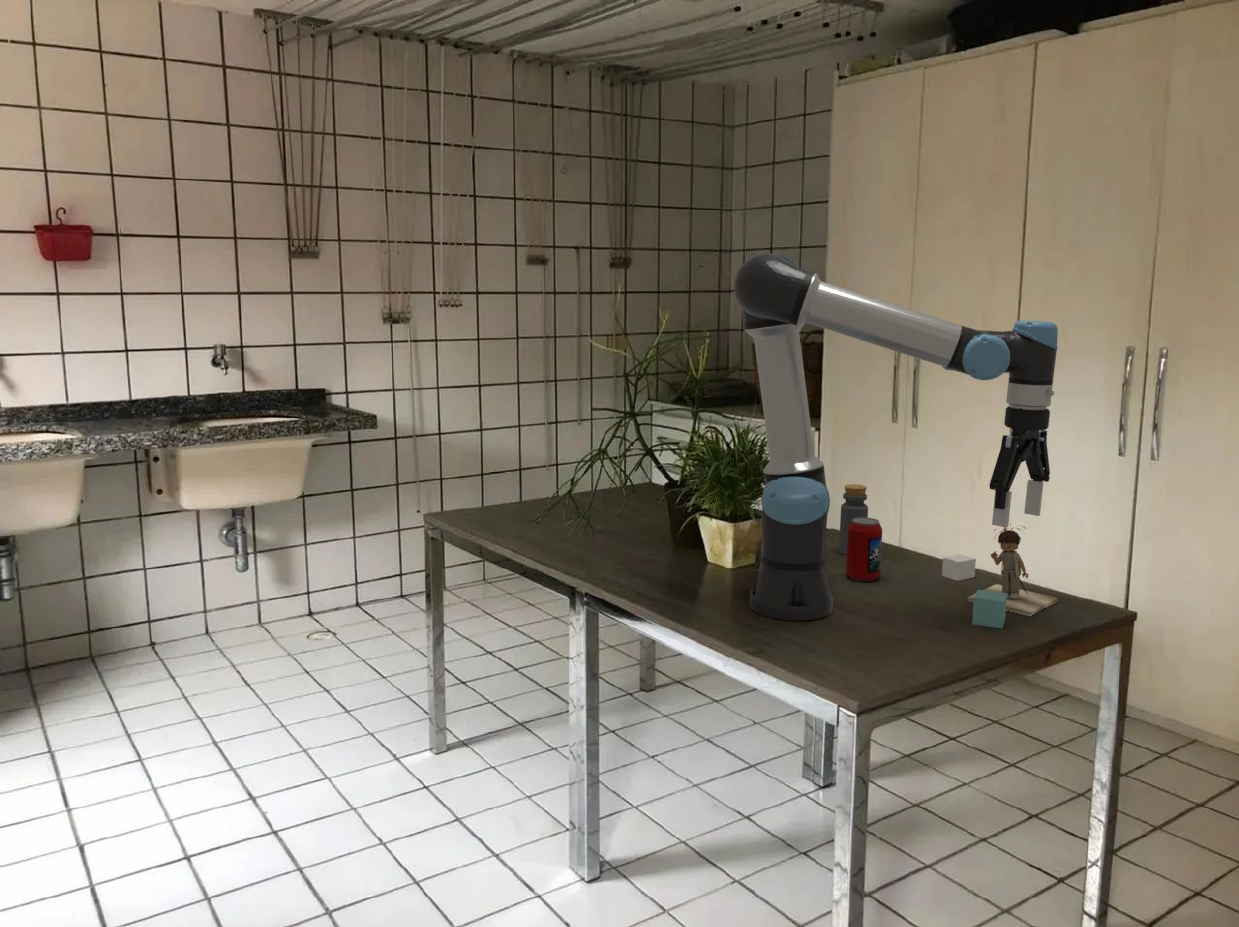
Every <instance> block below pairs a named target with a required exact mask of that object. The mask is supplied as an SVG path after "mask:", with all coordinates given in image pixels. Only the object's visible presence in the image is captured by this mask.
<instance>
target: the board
mask: <svg viewBox="0 0 1239 927" xmlns="http://www.w3.org/2000/svg"><path fill="white" fill-rule="evenodd" d="M983 590H984V591H991V592H999V593H1003V592H1001V591H1002V584H998V583H996V584H995V583H994V585H993V584H992V586H988V587H987V588H985V589H983ZM1026 592H1027V594H1026ZM1026 592H1025V590H1024V589H1020V588H1019V597H1018V598H1016V599H1013V598H1007V601H1006V612H1008V611H1010V613H1012V612H1014V613H1013V614H1017V613H1018V614H1017V615H1021V614H1022V615H1021V616H1025V615H1026V616H1025V617H1029V616H1031V617H1032V615H1033V614H1034V615H1036V614H1038V613H1040V612H1041V610H1042V609H1044V608H1046V607H1047V608H1049V607H1051V606H1053V605H1054V604H1056V603H1058V601H1059V600H1058V599H1059V598H1058V597H1054V596H1050V595H1046V594H1042V593H1037V592H1034V591H1028V590H1026ZM975 594H976V593H974V594H972V595H970V596H968V597H967V598H966V599H967V602H969V603H973V604H974V596H975ZM1027 595H1028V596H1027ZM1050 605H1051V606H1050ZM1048 606H1049V607H1048ZM1047 608H1046V609H1047ZM1044 610H1045V609H1044ZM1039 611H1040V612H1039ZM1042 611H1043V610H1042ZM1037 612H1038V613H1037ZM1035 613H1036V614H1035ZM1034 615H1033V616H1034Z"/></svg>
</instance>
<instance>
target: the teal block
mask: <svg viewBox="0 0 1239 927" xmlns="http://www.w3.org/2000/svg"><path fill="white" fill-rule="evenodd" d="M984 590H985V589H977V590H976V592H975V593H974V594H975V596H974V603H973V604H972V606H973V607H972V619H971V621H972V622H971V625H975V626H981V627H988V628H994V629H1001V630H1002V629H1003V627H1004V624H1005V621H1006V612H1007V611H1006V601H1007V594H1006V593H999V592H991V591H984Z"/></svg>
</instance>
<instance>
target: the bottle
mask: <svg viewBox="0 0 1239 927" xmlns="http://www.w3.org/2000/svg"><path fill="white" fill-rule="evenodd" d="M867 488H868V487H867V486H866V485H863V484H856V483H854V484H850V483H849V484H846V485H844V490H845V491H844V493H843V495H842V498H843V499H844V500H845V502H843V503H842V504H841V505H840V522H839V540H838V541H839V542H838V544H839V546H838V552H839V553H840V554H842V555H846V556H847V539H848V527H849V525H850V523H851V522H852V519H853V518H859V517H866V518H869V516H868V515H869V506H868V505H867V504H865V501H867V499H868V494H866V491H867Z"/></svg>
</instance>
